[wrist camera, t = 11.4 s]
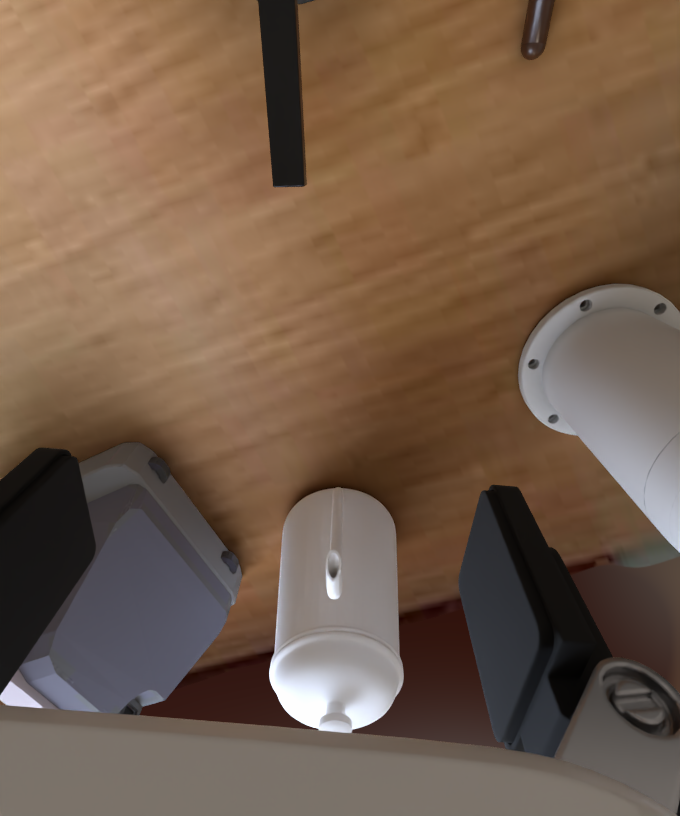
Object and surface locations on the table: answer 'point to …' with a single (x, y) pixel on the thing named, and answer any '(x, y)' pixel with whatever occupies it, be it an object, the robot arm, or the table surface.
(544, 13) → the spatula
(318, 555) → the coffeepot
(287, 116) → the saucepan
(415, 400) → the table surface
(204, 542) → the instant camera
